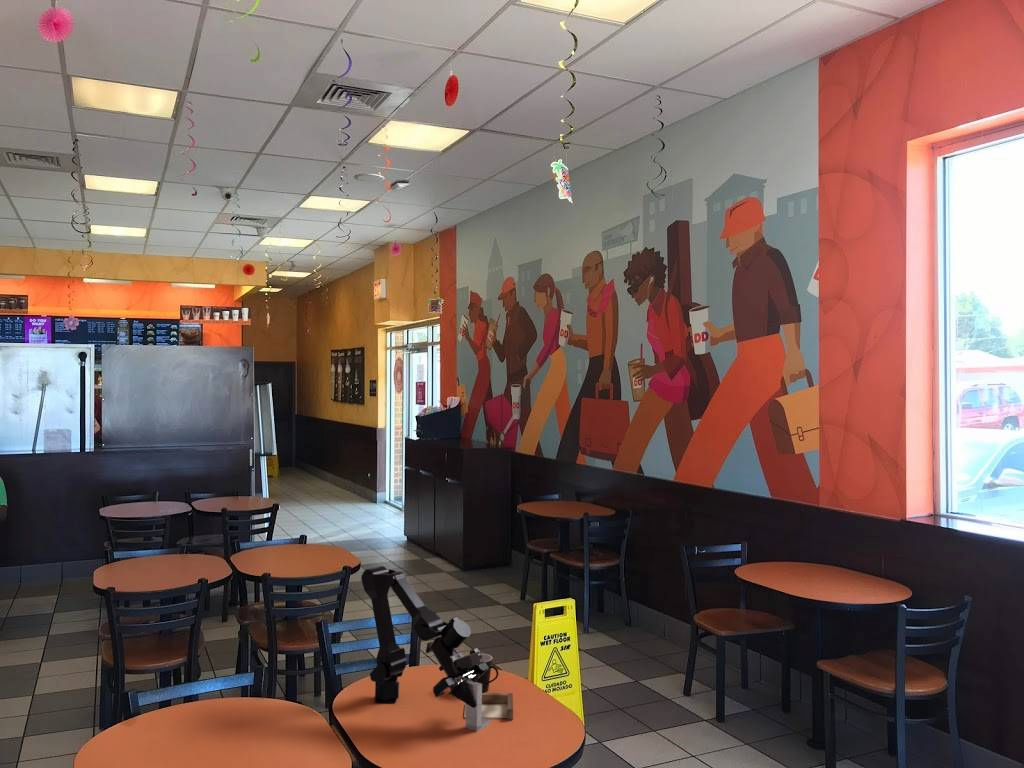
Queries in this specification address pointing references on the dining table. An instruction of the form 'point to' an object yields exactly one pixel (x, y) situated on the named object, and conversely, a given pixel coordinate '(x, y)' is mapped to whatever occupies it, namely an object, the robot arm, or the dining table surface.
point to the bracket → (475, 714)
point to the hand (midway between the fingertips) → (477, 705)
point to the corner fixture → (496, 706)
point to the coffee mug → (486, 673)
